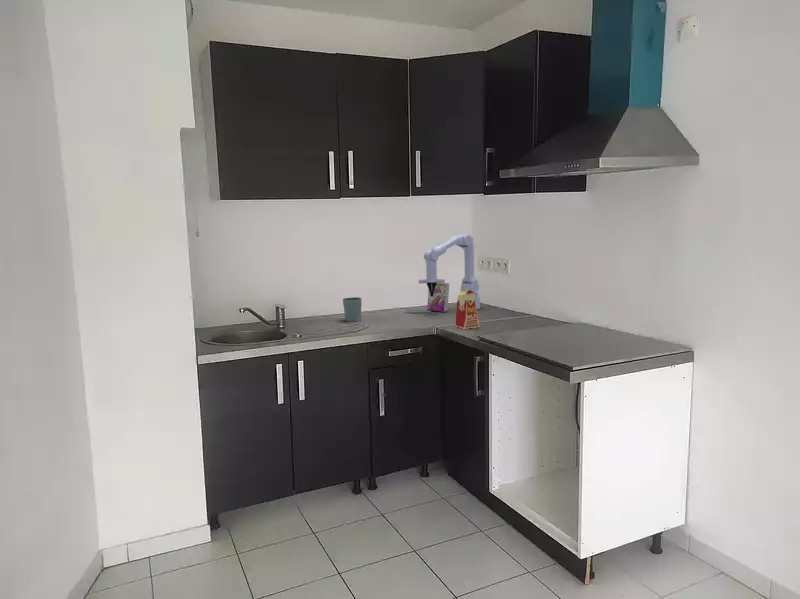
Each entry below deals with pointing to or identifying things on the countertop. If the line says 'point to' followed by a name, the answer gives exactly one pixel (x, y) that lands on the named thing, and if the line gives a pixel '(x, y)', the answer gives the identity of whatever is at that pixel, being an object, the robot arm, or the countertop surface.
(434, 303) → the candy bar box
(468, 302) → the milk carton
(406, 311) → the mat
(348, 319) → the teal cup
